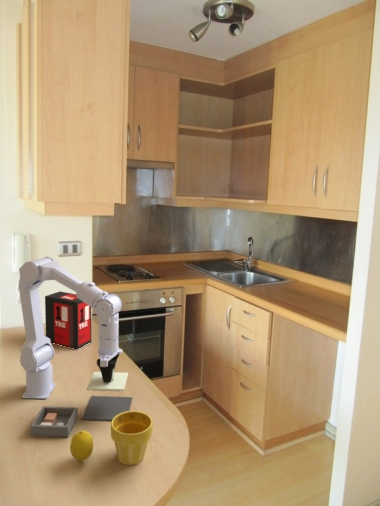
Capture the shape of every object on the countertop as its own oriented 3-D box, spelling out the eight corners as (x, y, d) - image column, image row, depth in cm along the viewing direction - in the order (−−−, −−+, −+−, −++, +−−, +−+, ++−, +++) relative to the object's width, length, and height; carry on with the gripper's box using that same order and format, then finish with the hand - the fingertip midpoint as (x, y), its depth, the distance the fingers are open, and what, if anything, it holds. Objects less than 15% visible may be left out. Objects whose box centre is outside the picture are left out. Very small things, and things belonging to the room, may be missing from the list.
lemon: (95, 453, 108) (95, 424, 106) (90, 468, 102) (90, 438, 101) (73, 453, 107) (73, 424, 106) (67, 467, 102) (67, 437, 101)
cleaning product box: (46, 342, 177) (45, 296, 173) (60, 335, 185) (59, 291, 181) (77, 350, 170) (77, 302, 167) (91, 342, 178) (91, 297, 175)
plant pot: (153, 469, 103) (154, 432, 101) (110, 472, 101) (110, 435, 99) (150, 442, 113) (151, 409, 111) (111, 445, 111) (111, 411, 109)
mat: (91, 396, 135) (91, 395, 135) (132, 398, 135) (132, 397, 135) (81, 419, 122) (81, 418, 122) (126, 421, 122) (126, 420, 122)
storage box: (43, 415, 123) (43, 406, 123) (77, 416, 123) (77, 407, 123) (30, 436, 114) (30, 426, 113) (68, 437, 114) (67, 427, 113)
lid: (94, 376, 132) (94, 361, 131) (128, 376, 132) (128, 362, 132) (86, 392, 122) (86, 377, 121) (123, 393, 122) (123, 378, 121)
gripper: (118, 346, 117) (117, 391, 120) (125, 327, 132) (125, 368, 134) (92, 345, 117) (92, 390, 120) (103, 327, 131) (103, 367, 134)
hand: (108, 378), depth 127 cm, fingers closed on lid, 3 cm apart
